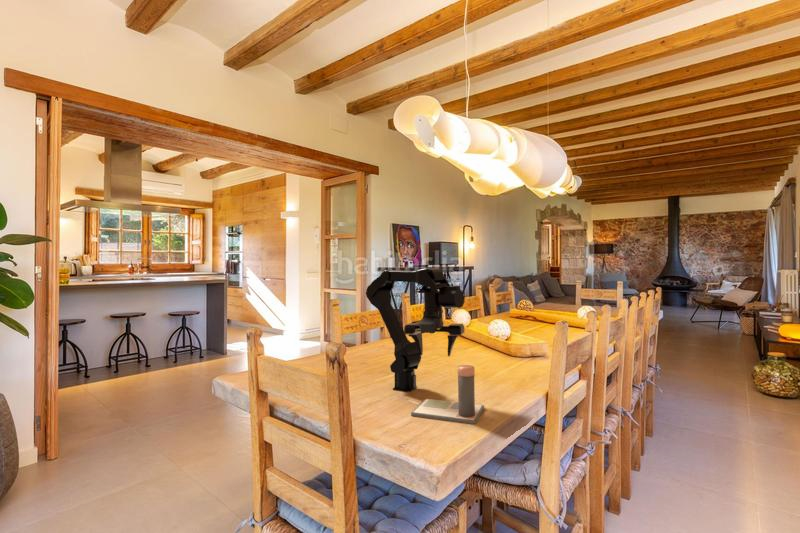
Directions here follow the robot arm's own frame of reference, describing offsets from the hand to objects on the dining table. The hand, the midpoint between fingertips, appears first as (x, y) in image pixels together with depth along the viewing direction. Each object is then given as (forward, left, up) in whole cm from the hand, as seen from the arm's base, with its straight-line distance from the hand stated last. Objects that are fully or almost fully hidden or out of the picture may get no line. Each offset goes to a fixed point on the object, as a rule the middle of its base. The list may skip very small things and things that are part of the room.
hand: (435, 355), depth 133 cm
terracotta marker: (+14, -16, -12) cm, 24 cm away
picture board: (+8, -13, -13) cm, 20 cm away
